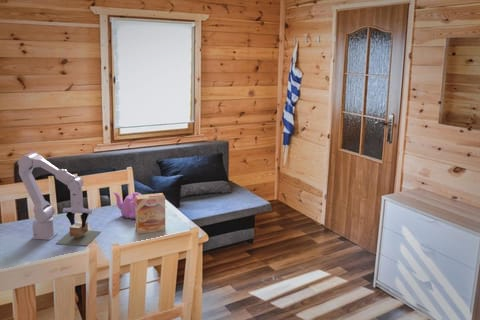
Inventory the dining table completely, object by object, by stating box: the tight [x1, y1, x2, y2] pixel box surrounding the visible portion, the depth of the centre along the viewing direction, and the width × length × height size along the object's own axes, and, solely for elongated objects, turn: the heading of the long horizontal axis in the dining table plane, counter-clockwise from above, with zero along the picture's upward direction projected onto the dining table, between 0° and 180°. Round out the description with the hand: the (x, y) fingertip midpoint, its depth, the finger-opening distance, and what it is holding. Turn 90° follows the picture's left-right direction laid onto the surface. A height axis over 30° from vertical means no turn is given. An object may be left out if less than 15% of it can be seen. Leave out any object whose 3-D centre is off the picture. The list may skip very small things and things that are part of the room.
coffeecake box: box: [135, 192, 166, 235], centre depth 251 cm, size 15×7×20 cm, turn 112°
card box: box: [69, 220, 89, 237], centre depth 240 cm, size 10×5×5 cm, turn 174°
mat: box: [55, 230, 102, 247], centre depth 241 cm, size 16×18×1 cm
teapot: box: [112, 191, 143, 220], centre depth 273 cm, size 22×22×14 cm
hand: (78, 226), depth 240 cm, fingers closed on card box, 5 cm apart
